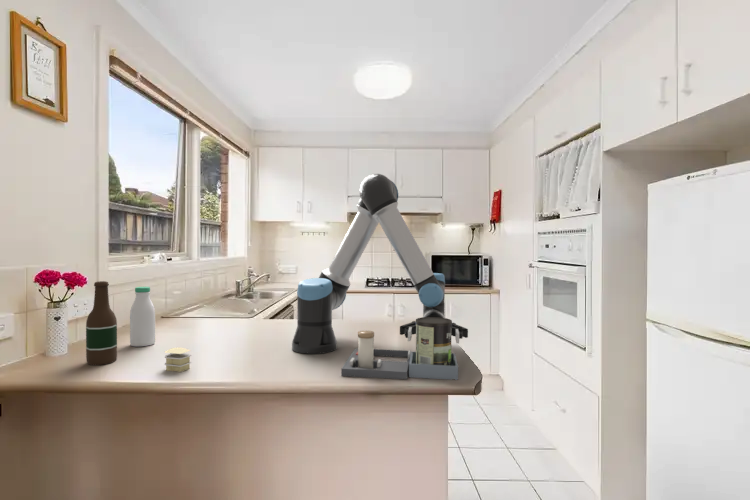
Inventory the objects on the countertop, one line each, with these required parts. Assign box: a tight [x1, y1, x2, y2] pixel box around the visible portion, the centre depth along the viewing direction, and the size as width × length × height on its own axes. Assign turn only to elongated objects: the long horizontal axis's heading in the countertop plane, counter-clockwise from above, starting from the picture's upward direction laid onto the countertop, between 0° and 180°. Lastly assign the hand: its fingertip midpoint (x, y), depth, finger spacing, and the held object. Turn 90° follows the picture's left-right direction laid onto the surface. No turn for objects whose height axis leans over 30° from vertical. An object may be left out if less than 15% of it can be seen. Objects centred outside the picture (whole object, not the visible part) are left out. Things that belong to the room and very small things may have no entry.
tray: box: [408, 350, 459, 381], centre depth 122 cm, size 13×13×4 cm
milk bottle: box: [129, 286, 156, 348], centre depth 148 cm, size 8×8×20 cm
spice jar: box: [357, 330, 375, 369], centre depth 120 cm, size 5×5×11 cm
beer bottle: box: [85, 280, 118, 366], centre depth 126 cm, size 8×8×24 cm
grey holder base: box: [340, 347, 411, 380], centre depth 126 cm, size 18×22×3 cm
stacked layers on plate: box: [164, 346, 192, 373], centre depth 121 cm, size 10×9×6 cm
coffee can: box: [415, 316, 453, 366], centre depth 122 cm, size 10×10×14 cm
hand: (433, 337), depth 120 cm, fingers open, 13 cm apart
